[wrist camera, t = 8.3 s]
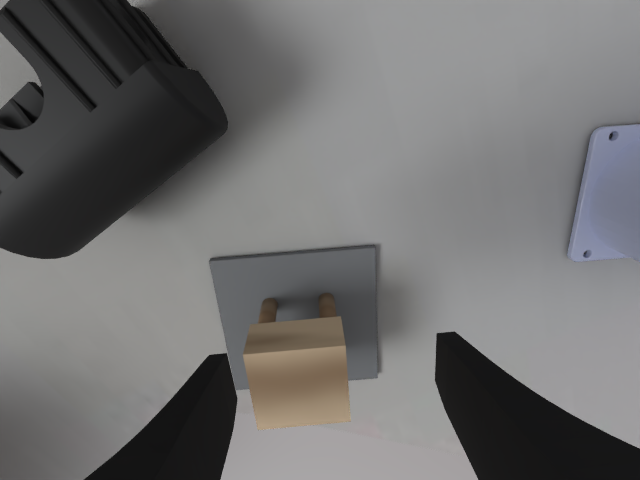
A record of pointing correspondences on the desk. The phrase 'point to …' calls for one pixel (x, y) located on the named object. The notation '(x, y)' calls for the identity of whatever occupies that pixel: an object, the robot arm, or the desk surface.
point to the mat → (300, 299)
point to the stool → (297, 368)
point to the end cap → (92, 121)
